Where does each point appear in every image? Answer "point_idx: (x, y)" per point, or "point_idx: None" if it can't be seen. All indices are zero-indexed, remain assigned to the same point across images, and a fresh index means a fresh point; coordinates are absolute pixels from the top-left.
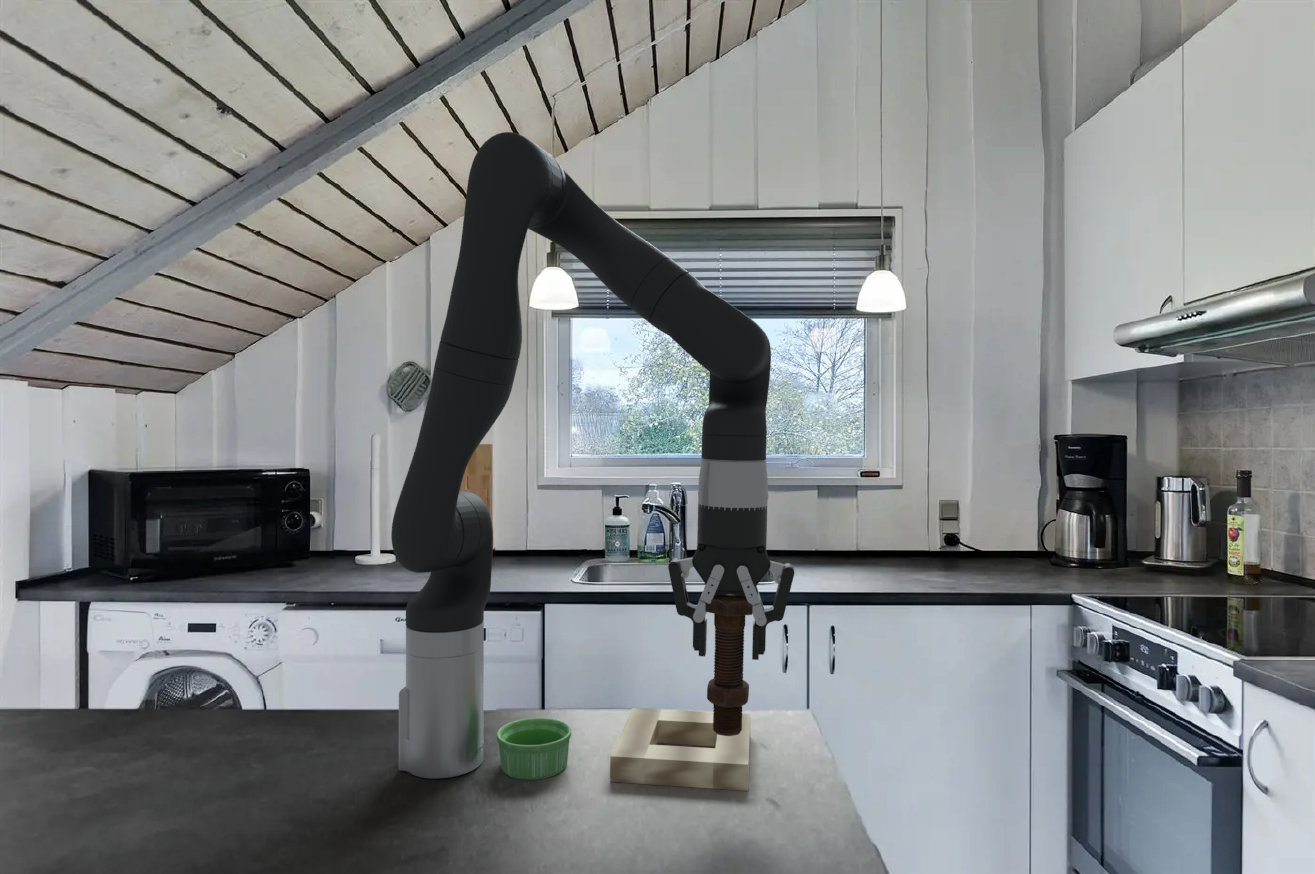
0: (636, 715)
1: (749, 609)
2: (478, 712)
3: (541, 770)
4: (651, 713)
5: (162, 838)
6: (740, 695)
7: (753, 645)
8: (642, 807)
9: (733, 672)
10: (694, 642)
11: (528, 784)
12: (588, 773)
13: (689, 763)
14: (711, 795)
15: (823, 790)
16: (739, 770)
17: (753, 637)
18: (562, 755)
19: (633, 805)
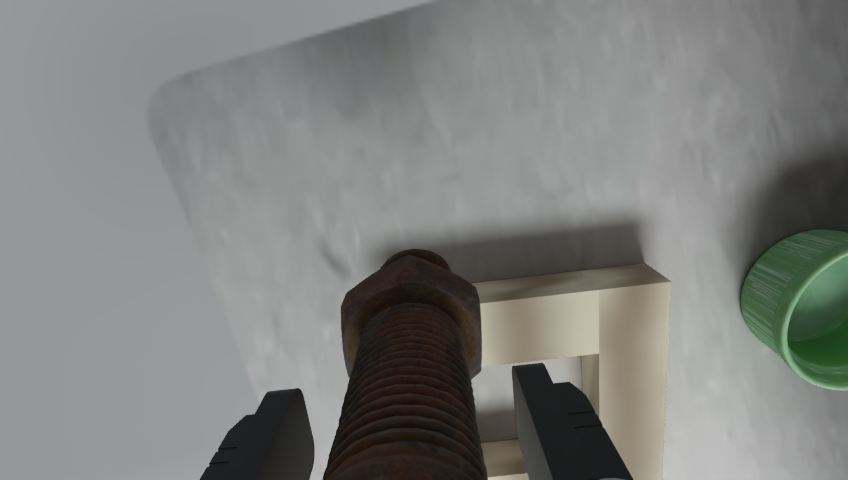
0: (647, 475)
1: None
2: None
3: (791, 244)
4: None
5: None
6: (362, 290)
7: (273, 425)
8: (566, 182)
9: (382, 331)
10: (582, 407)
11: (799, 213)
12: (691, 284)
13: (502, 298)
14: (448, 259)
15: (255, 328)
16: None
17: (259, 457)
18: (767, 287)
19: (584, 185)
